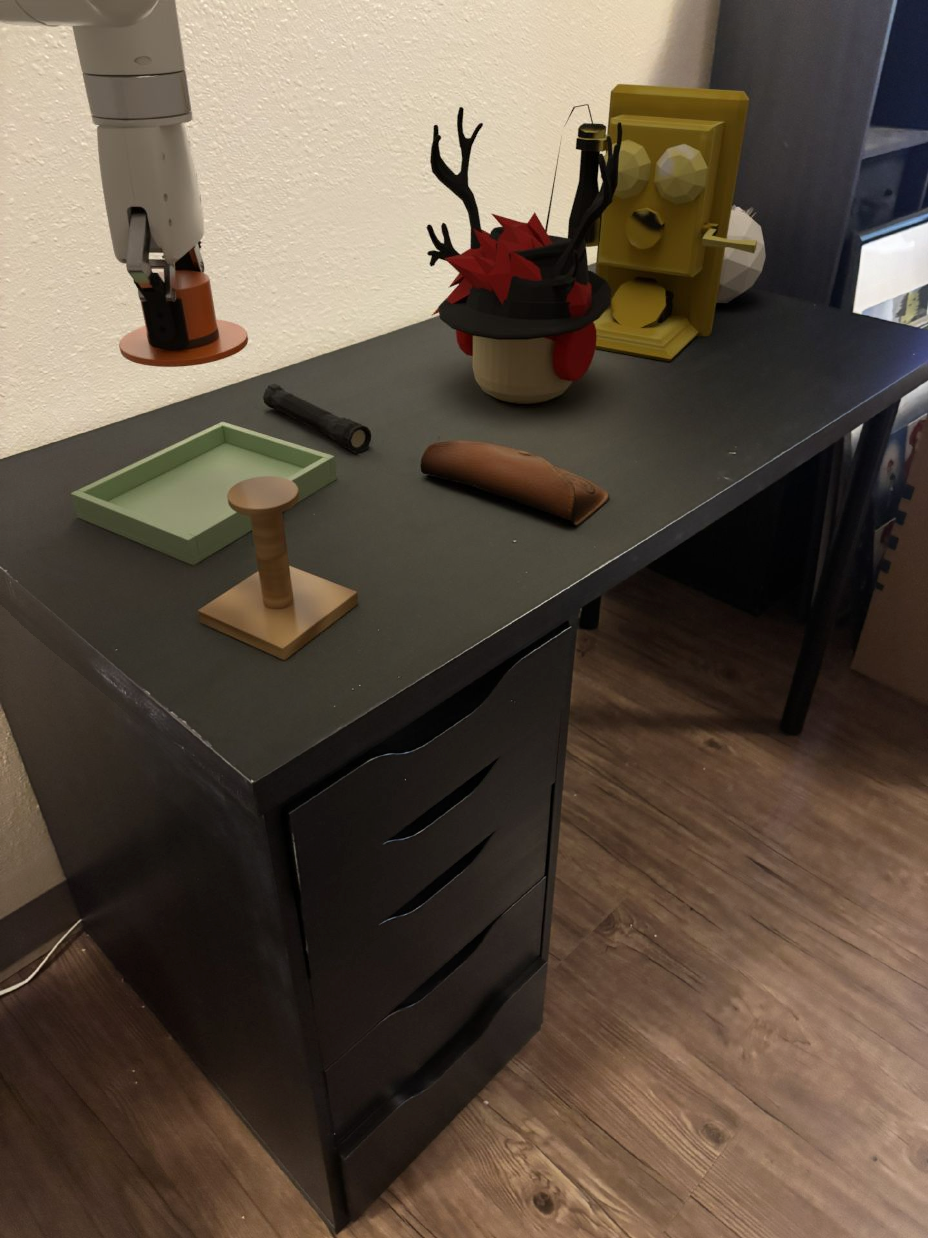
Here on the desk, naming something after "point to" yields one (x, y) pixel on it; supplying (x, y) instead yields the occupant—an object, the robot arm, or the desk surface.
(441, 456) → the sunglasses case
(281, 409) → the flashlight
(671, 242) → the vintage telephone
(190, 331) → the small hat
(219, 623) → the hat stand
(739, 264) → the geodesic sphere
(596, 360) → the desk surface
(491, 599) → the desk surface
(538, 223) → the decorative hat
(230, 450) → the tray
